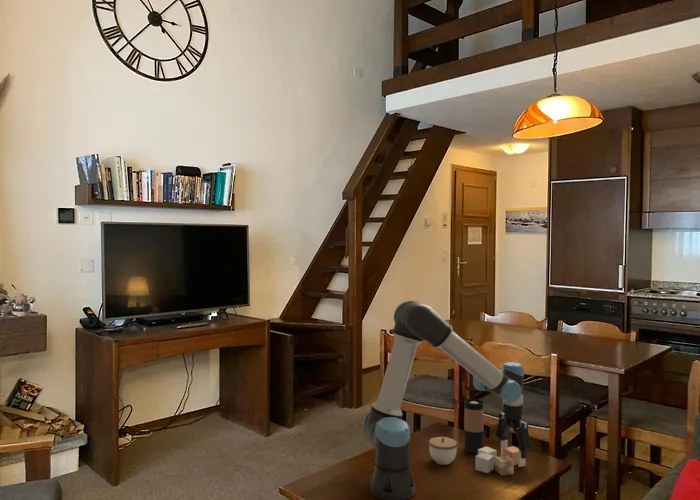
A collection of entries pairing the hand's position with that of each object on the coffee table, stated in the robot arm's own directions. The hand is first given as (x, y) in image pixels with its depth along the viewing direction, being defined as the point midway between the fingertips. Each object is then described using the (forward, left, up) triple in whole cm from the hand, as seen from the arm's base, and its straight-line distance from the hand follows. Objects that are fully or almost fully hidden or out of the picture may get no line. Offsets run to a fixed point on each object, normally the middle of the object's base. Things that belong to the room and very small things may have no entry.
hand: (512, 461), depth 212 cm
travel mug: (-6, +16, 0) cm, 17 cm away
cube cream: (-9, +4, 0) cm, 10 cm away
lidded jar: (-24, +12, 0) cm, 27 cm away
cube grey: (-14, 0, 0) cm, 14 cm away
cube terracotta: (0, 0, 0) cm, 0 cm away
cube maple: (-9, -5, 0) cm, 11 cm away
